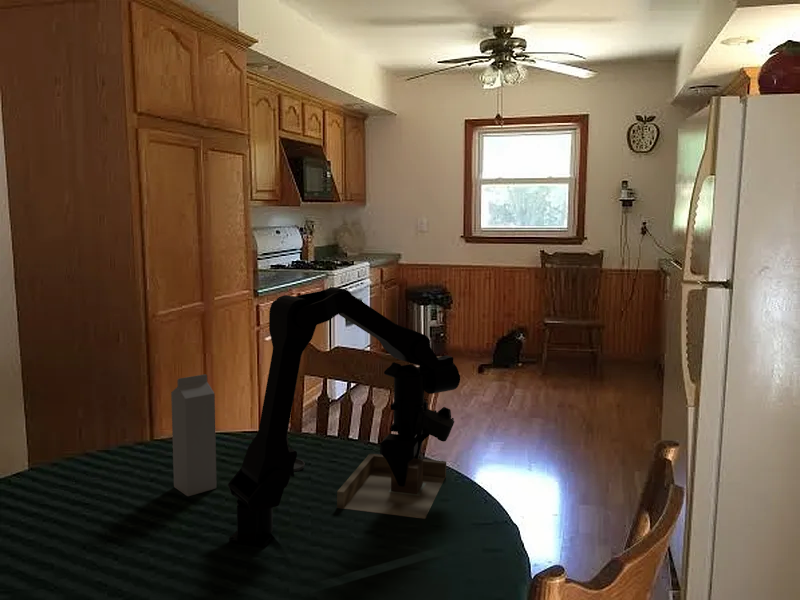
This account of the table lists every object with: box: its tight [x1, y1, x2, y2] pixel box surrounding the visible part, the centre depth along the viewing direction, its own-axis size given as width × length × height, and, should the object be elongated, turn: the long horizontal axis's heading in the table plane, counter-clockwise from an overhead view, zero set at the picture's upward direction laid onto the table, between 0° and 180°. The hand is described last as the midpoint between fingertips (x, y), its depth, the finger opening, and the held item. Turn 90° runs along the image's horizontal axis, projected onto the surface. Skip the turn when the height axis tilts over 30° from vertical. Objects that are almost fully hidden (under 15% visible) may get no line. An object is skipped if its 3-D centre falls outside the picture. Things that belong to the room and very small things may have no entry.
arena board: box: [336, 453, 447, 520], centre depth 128 cm, size 20×16×4 cm
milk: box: [170, 373, 217, 497], centre depth 130 cm, size 6×6×22 cm
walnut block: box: [391, 458, 424, 494], centre depth 130 cm, size 5×5×5 cm
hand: (407, 476), depth 130 cm, fingers open, 9 cm apart
